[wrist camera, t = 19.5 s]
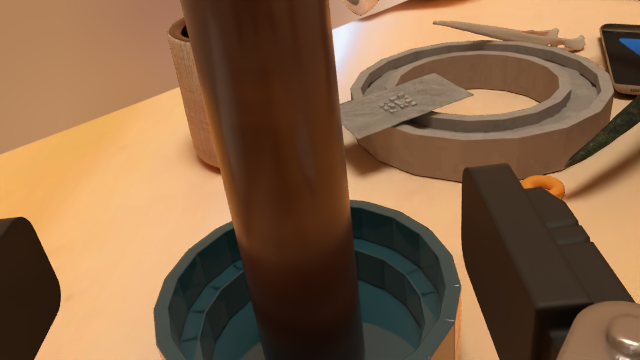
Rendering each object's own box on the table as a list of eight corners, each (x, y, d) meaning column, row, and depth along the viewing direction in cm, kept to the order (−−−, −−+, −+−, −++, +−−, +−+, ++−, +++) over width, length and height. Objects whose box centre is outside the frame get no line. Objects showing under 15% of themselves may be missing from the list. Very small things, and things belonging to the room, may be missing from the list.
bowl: (472, 284, 29) (475, 210, 26) (433, 532, 19) (432, 449, 17) (250, 256, 32) (235, 189, 30) (124, 448, 23) (88, 372, 21)
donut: (636, 129, 38) (633, 142, 39) (512, 180, 35) (511, 193, 35) (669, 144, 36) (666, 157, 37) (542, 199, 33) (540, 213, 33)
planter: (218, 113, 50) (194, 2, 45) (342, 108, 48) (331, -9, 43) (175, 179, 41) (139, 49, 36) (326, 176, 39) (310, 38, 34)
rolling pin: (375, 321, 26) (343, -46, 18) (349, 401, 23) (294, -8, 15) (286, 308, 28) (219, -39, 19) (249, 381, 24) (147, -3, 16)
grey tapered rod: (591, 38, 53) (583, 59, 54) (550, 25, 56) (542, 46, 57) (459, 10, 43) (451, 36, 44) (419, -3, 47) (412, 22, 47)
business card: (432, 72, 43) (431, 67, 43) (476, 94, 39) (475, 88, 39) (325, 115, 40) (324, 109, 40) (360, 143, 36) (359, 137, 36)
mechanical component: (307, 146, 43) (301, 109, 41) (425, 62, 55) (425, 31, 53) (555, 211, 33) (560, 166, 31) (634, 91, 45) (641, 54, 43)
